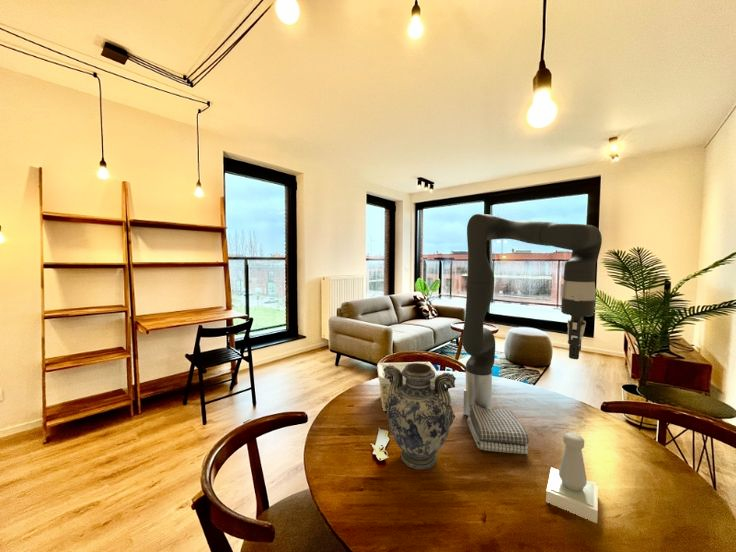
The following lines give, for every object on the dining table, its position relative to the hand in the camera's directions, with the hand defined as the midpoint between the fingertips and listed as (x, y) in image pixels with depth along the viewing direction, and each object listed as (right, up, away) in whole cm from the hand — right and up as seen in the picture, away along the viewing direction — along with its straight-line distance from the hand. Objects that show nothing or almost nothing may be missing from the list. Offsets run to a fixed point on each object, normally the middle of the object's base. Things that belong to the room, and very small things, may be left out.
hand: (574, 354), depth 84 cm
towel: (-16, -32, +16) cm, 39 cm away
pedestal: (-7, -34, -9) cm, 36 cm away
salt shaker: (-7, -30, -10) cm, 33 cm away
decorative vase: (-43, -33, +6) cm, 55 cm away
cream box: (-42, -31, +40) cm, 66 cm away
